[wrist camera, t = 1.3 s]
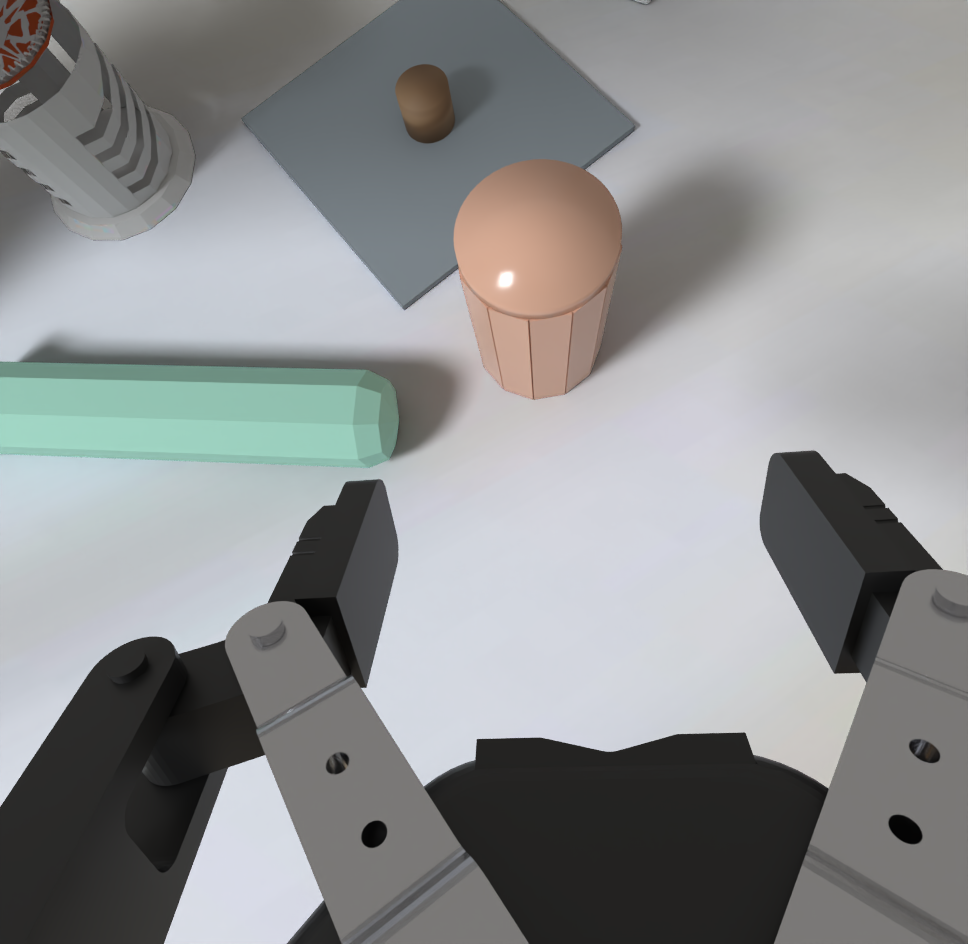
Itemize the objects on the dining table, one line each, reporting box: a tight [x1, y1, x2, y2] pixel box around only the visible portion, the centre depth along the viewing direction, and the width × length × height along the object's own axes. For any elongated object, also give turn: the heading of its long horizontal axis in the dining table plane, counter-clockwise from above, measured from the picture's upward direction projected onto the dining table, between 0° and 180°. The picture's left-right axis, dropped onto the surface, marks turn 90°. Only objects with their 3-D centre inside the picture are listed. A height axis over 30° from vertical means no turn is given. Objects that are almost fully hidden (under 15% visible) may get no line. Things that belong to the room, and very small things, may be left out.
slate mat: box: [241, 0, 635, 310], centre depth 36 cm, size 17×17×1 cm
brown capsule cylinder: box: [395, 64, 455, 143], centre depth 34 cm, size 3×3×2 cm
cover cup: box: [454, 159, 622, 400], centre depth 28 cm, size 6×6×10 cm
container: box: [0, 362, 399, 468], centre depth 31 cm, size 6×6×25 cm
